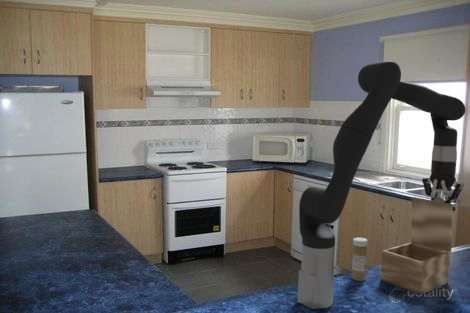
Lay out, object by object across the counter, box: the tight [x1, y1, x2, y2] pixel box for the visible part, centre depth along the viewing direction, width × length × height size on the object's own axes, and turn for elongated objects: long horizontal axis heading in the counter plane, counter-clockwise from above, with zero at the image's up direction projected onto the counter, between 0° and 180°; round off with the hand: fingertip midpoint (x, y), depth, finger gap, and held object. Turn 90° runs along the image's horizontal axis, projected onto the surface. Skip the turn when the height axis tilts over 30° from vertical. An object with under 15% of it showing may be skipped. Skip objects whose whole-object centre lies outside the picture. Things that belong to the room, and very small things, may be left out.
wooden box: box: [380, 242, 451, 295], centre depth 152 cm, size 16×14×10 cm
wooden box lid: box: [410, 196, 453, 254], centre depth 157 cm, size 16×14×7 cm
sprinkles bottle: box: [351, 237, 369, 282], centre depth 154 cm, size 5×5×13 cm
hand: (440, 210), depth 158 cm, fingers closed on wooden box lid, 3 cm apart
